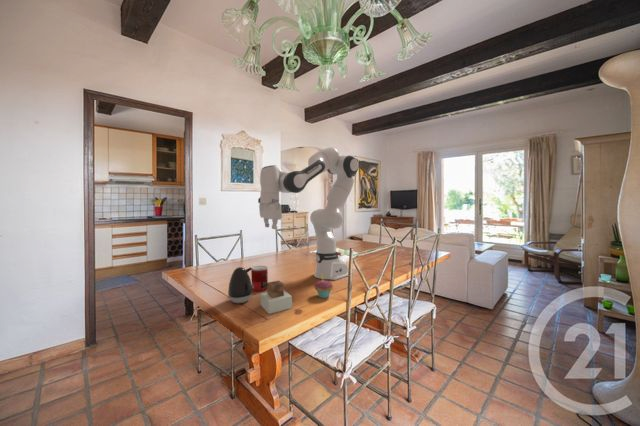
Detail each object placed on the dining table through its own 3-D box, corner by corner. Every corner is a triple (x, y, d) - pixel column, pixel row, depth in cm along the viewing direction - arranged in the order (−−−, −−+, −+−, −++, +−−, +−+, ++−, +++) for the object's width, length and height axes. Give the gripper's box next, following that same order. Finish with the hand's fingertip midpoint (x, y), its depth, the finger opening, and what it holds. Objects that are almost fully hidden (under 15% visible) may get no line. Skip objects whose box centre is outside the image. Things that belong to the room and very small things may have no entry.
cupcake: (329, 300, 112) (329, 273, 111) (311, 298, 115) (311, 272, 114) (335, 293, 120) (334, 268, 120) (318, 291, 123) (318, 267, 122)
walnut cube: (279, 291, 110) (278, 280, 109) (283, 295, 105) (283, 283, 105) (267, 294, 107) (267, 282, 107) (272, 298, 103) (272, 286, 102)
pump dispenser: (256, 302, 111) (255, 268, 110) (231, 308, 105) (230, 272, 105) (249, 295, 120) (248, 263, 119) (226, 299, 114) (225, 266, 113)
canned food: (264, 292, 123) (263, 270, 122) (248, 291, 124) (248, 269, 124) (270, 287, 130) (269, 265, 130) (255, 286, 132) (255, 265, 131)
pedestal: (282, 300, 113) (282, 289, 113) (292, 308, 105) (292, 296, 104) (260, 305, 108) (260, 293, 108) (269, 314, 100) (268, 301, 99)
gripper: (284, 199, 115) (285, 229, 115) (268, 199, 132) (269, 225, 133) (271, 199, 111) (272, 230, 112) (256, 199, 129) (257, 226, 129)
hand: (270, 228), depth 123 cm, fingers open, 8 cm apart
